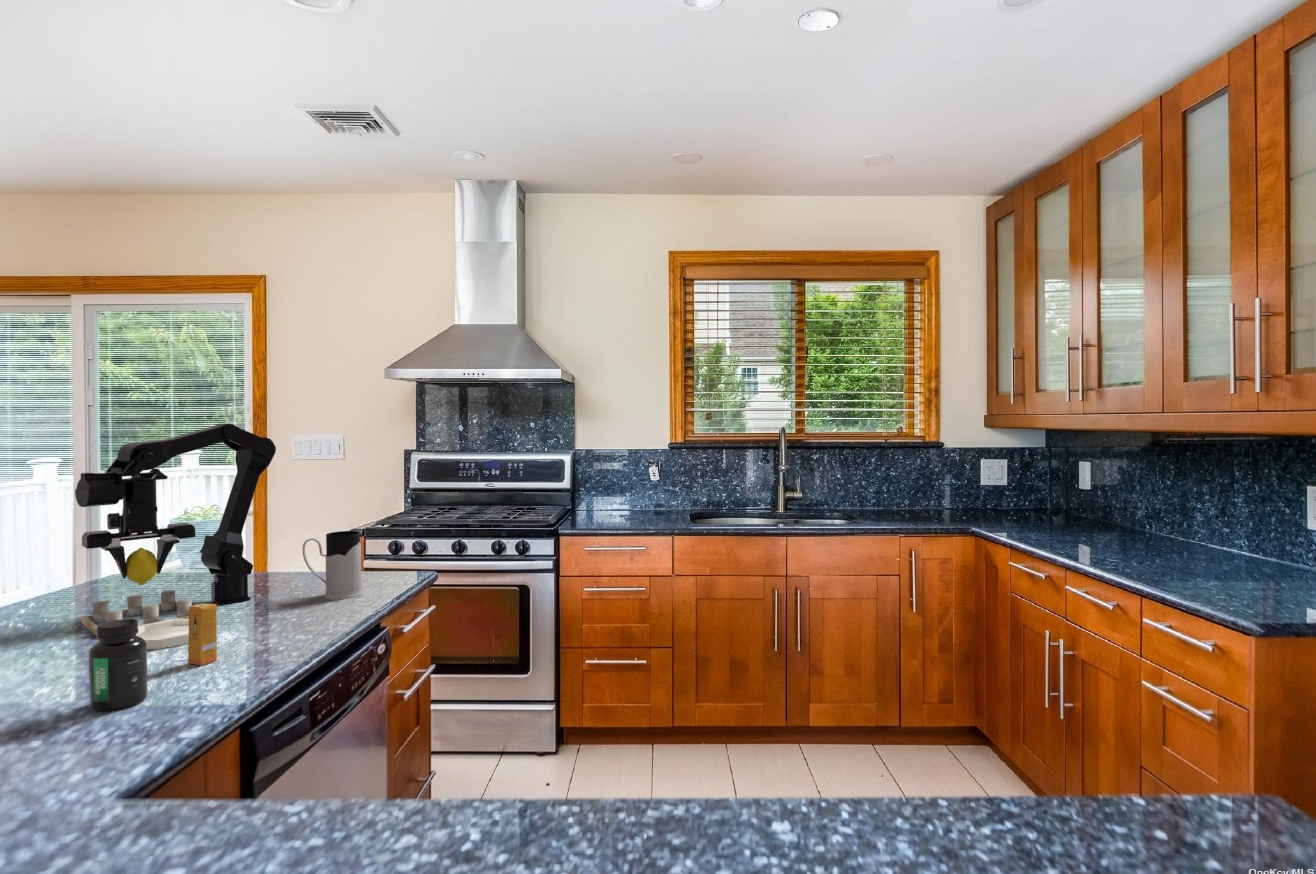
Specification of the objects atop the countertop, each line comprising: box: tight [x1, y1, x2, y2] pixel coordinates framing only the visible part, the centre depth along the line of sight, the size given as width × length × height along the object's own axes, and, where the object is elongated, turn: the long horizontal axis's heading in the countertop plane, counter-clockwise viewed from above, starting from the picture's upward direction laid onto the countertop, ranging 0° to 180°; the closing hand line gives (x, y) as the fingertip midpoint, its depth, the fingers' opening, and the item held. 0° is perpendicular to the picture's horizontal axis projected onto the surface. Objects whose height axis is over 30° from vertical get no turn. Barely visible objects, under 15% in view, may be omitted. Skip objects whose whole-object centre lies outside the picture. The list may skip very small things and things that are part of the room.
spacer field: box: [79, 589, 193, 636], centre depth 149 cm, size 18×18×4 cm
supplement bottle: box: [88, 618, 148, 713], centre depth 104 cm, size 7×7×12 cm
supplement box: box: [187, 603, 218, 666], centre depth 122 cm, size 3×3×10 cm
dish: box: [136, 618, 189, 650], centre depth 136 cm, size 14×14×2 cm
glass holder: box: [302, 530, 364, 601], centre depth 170 cm, size 9×14×15 cm, turn 89°
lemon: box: [125, 547, 157, 586], centre depth 148 cm, size 6×6×8 cm
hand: (141, 575), depth 148 cm, fingers closed on lemon, 5 cm apart
